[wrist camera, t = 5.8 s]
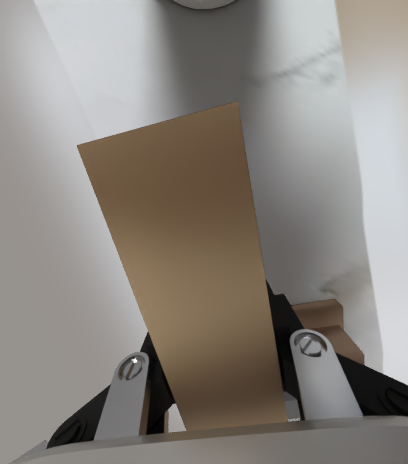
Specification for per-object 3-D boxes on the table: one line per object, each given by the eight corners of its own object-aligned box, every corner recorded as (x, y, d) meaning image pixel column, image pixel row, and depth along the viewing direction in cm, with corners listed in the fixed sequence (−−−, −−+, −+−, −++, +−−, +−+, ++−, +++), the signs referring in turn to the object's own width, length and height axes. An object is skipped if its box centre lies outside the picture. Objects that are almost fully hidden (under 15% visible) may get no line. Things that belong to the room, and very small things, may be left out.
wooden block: (144, 158, 10) (76, 145, 5) (224, 138, 9) (237, 101, 4) (215, 398, 14) (217, 512, 10) (270, 391, 14) (301, 506, 9)
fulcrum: (245, 312, 25) (261, 372, 17) (334, 298, 24) (393, 356, 16) (256, 370, 28) (273, 446, 20) (337, 361, 27) (388, 436, 19)
